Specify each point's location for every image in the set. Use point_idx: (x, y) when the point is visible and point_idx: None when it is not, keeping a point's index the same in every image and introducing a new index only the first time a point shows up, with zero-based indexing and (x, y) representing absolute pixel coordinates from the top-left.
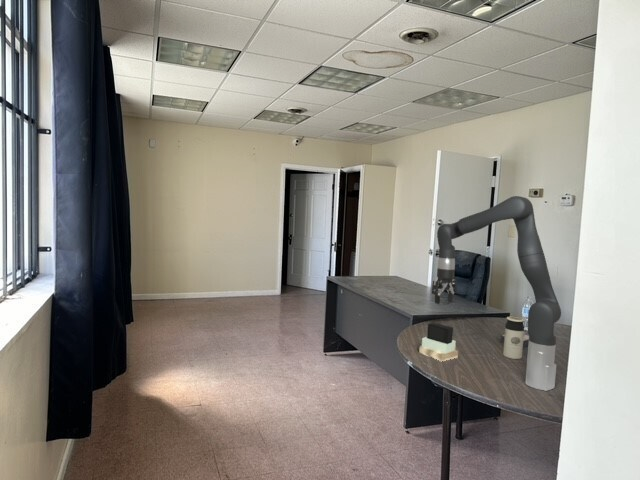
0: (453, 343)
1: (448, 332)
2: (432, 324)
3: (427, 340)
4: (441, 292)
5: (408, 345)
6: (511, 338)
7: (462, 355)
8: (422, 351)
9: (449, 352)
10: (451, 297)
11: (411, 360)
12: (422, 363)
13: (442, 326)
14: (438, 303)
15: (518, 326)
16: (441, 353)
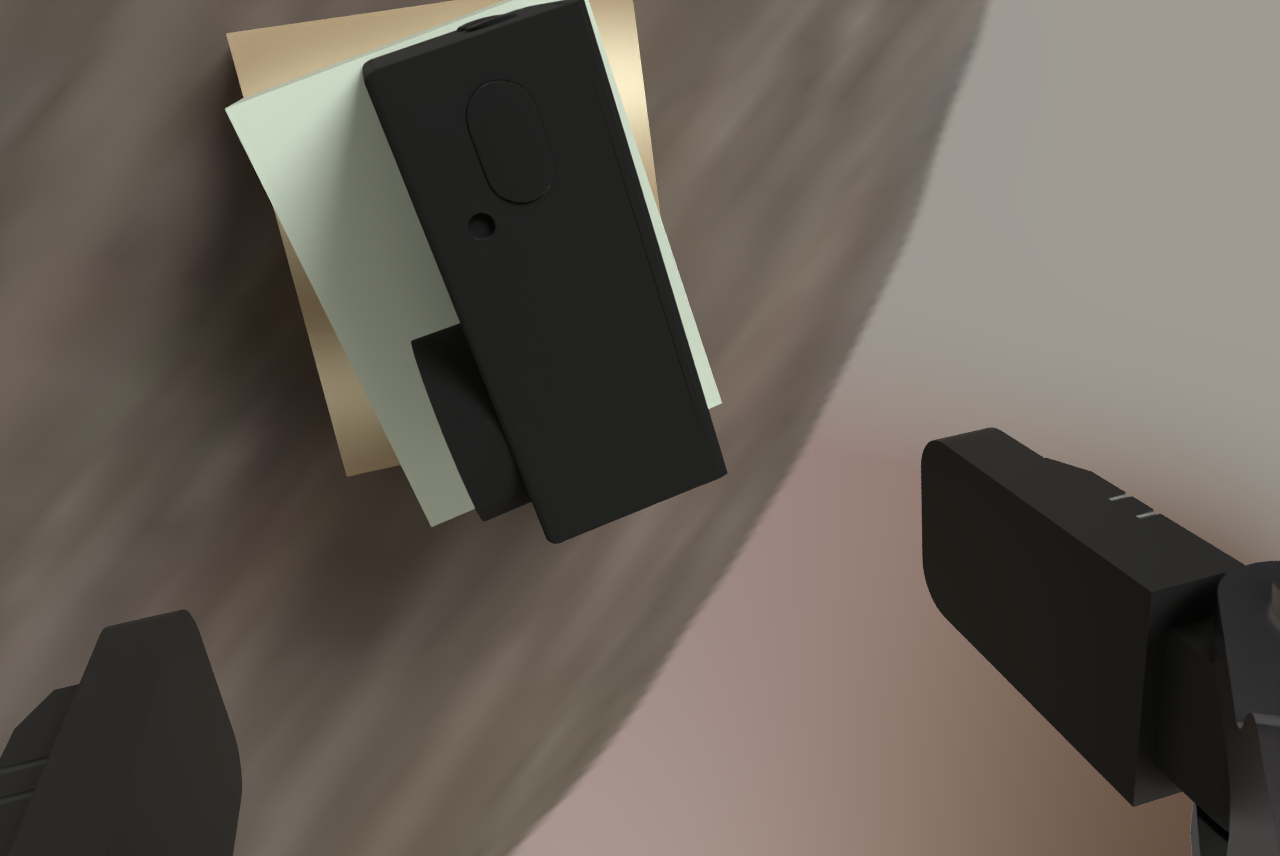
0: (312, 75)
1: (552, 5)
2: (677, 414)
3: (689, 315)
4: (1251, 714)
5: (611, 627)
6: None
7: (78, 92)
8: None
9: (443, 12)
10: (142, 754)
11: (933, 160)
12: (885, 21)
13: (570, 225)
14: (990, 435)
15: None
16: (606, 17)
